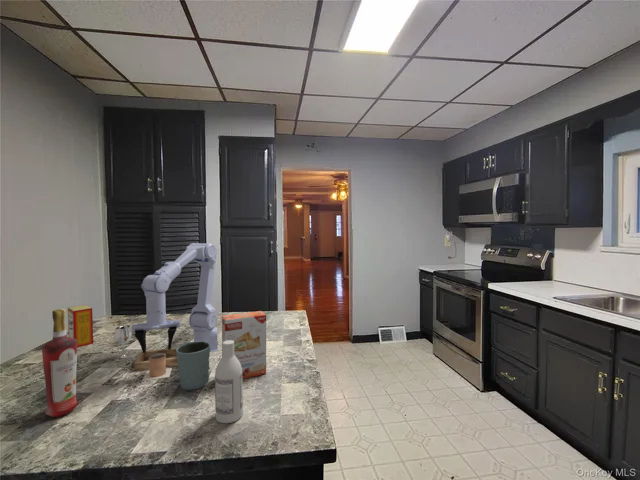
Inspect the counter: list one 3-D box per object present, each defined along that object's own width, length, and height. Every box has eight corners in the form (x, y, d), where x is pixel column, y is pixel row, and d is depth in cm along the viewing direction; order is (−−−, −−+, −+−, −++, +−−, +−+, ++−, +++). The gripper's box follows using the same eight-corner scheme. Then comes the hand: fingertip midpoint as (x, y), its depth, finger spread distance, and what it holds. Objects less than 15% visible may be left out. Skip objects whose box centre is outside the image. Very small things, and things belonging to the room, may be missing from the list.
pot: (166, 369, 107) (166, 351, 107) (165, 375, 103) (164, 357, 102) (150, 371, 106) (150, 353, 105) (148, 378, 101) (147, 359, 101)
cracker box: (225, 384, 98) (224, 319, 97) (221, 376, 104) (220, 315, 103) (267, 374, 105) (266, 314, 104) (262, 367, 110) (261, 309, 109)
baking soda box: (68, 342, 134) (67, 306, 134) (86, 338, 139) (85, 304, 139) (74, 348, 128) (73, 310, 128) (93, 343, 133) (92, 307, 133)
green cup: (217, 378, 102) (216, 342, 102) (195, 393, 92) (194, 354, 92) (192, 373, 105) (191, 339, 105) (169, 388, 96) (168, 350, 95)
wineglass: (123, 361, 115) (122, 330, 115) (110, 360, 116) (110, 329, 116) (135, 355, 121) (135, 325, 120) (123, 354, 122) (122, 324, 121)
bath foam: (233, 405, 86) (232, 335, 86) (248, 415, 82) (247, 341, 81) (210, 417, 81) (209, 342, 80) (225, 428, 76) (224, 349, 76)
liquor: (69, 402, 88) (66, 305, 87) (85, 407, 85) (82, 308, 84) (38, 416, 81) (34, 312, 80) (54, 423, 79) (50, 315, 78)
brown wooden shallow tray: (184, 354, 121) (184, 346, 121) (181, 366, 111) (181, 357, 111) (141, 360, 116) (141, 351, 116) (134, 372, 106) (134, 363, 106)
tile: (172, 369, 108) (171, 367, 108) (169, 378, 102) (169, 376, 102) (146, 372, 106) (146, 371, 106) (142, 382, 99) (141, 380, 99)
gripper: (128, 315, 97) (129, 357, 97) (178, 311, 102) (179, 351, 102) (133, 310, 104) (135, 349, 104) (180, 306, 108) (181, 344, 109)
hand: (157, 350), depth 104 cm, fingers open, 7 cm apart
